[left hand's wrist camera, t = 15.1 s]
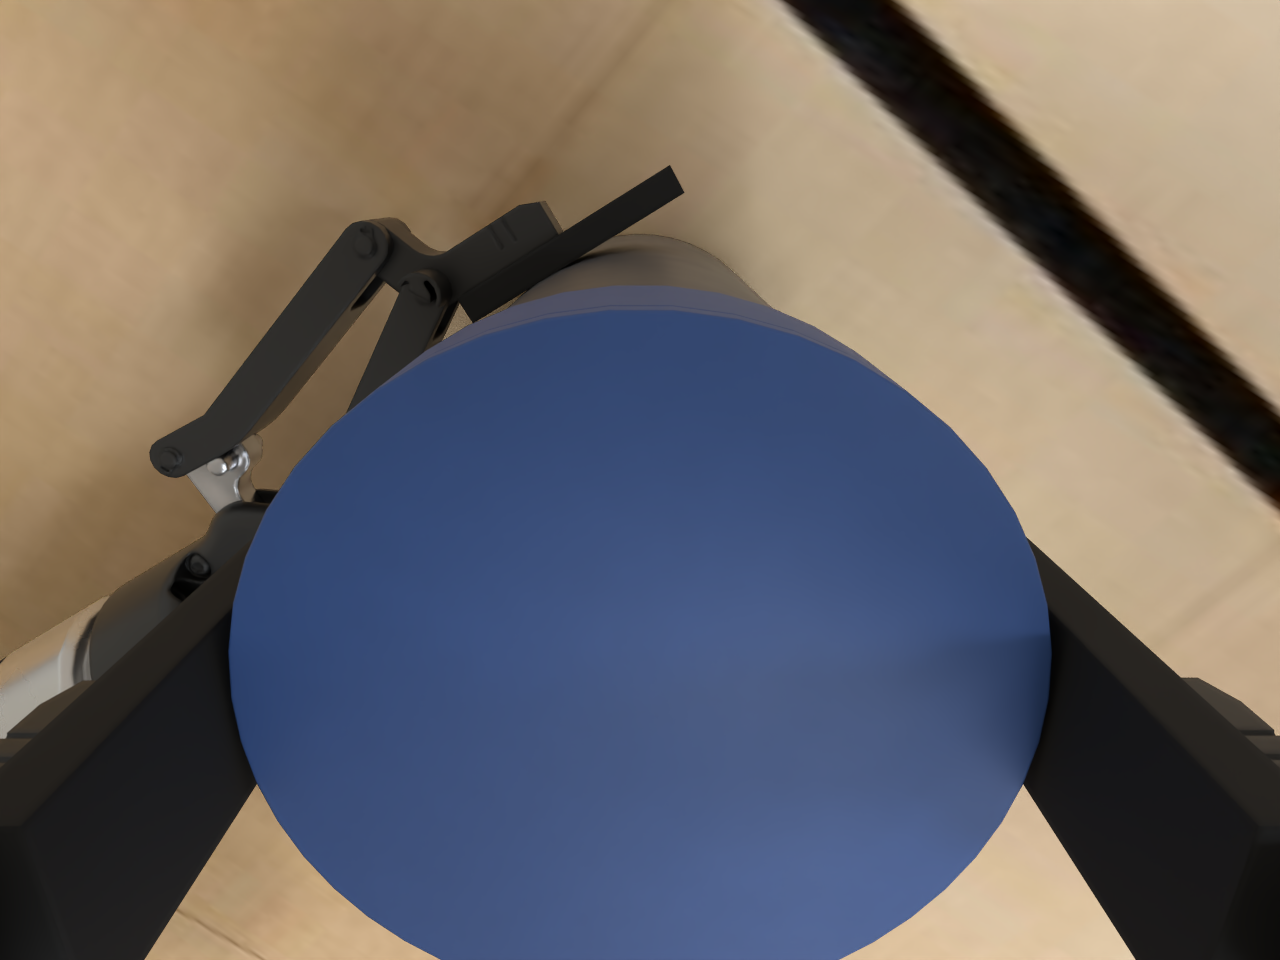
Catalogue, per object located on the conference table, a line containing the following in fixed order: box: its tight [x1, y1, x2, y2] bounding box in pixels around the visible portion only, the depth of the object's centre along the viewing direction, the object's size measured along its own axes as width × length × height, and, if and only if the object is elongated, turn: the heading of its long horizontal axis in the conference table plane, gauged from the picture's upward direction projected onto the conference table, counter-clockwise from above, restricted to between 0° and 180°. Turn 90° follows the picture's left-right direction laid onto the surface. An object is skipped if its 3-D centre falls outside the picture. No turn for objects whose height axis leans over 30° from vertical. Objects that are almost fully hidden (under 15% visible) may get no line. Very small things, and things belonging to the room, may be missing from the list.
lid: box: [228, 286, 1052, 960], centre depth 11 cm, size 11×11×2 cm
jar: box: [507, 234, 772, 309], centre depth 20 cm, size 10×10×20 cm
